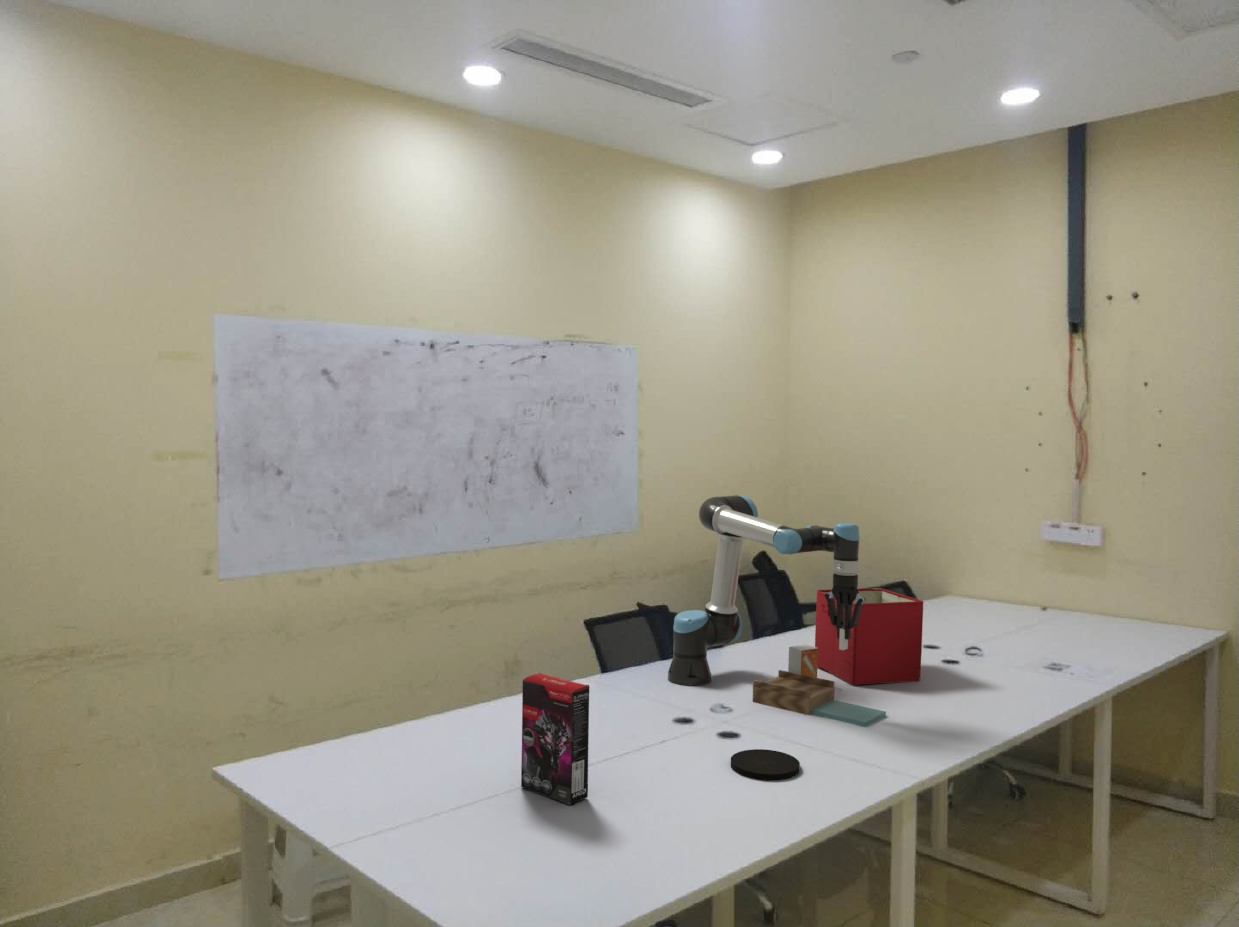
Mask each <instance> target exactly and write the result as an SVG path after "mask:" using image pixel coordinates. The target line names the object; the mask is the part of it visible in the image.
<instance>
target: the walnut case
mask: <svg viewBox="0 0 1239 927" xmlns="http://www.w3.org/2000/svg"><path fill="white" fill-rule="evenodd" d="M777 673H778V675H777V676H776V677H774V678H770V679H768V680H765V681H763V680H757V679H753V680H752V702H753V703H756V704H761V705H764V706H768V707H773V708H777V709H781V710H786V711H790V712H793V713H794V712H795V713H798V714H803V715H807V716H809V715H812V714H811V709H813V708H816V707H818V706H820V705H822V704H824V703H827V702H829V701H831V700H835V681H834V680H830V679H825V678H819V677H817V678H816V677H811V676H806V675H801V674H797V673H792V672H788V670H787V671H785V670H781V669H779V670H778V672H777Z"/></svg>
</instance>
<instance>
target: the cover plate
mask: <svg viewBox="0 0 1239 927" xmlns="http://www.w3.org/2000/svg"><path fill="white" fill-rule="evenodd" d="M810 715H814V716H818V717H821V718H822V717H823V718H827V719H829V720H830V719H831V720H835V721H839V722H843V723H847V724H851V725H855V726H859V727H863V728H866V727H868V726H870V725H872V724H874V723H876V722H878V721H879V720H881V719H883V718H885V717H886V715H887V711H884V710H881V709H878V708H877V709H876V708H872V707H867V706H862V705H859V704H854V703H851V702H845V701H841V700H836V699H834V700H831V701H829V702H827V703H824V704H822V705H820V706H818V707H816V708H813V709H811V714H810Z"/></svg>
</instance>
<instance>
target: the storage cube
mask: <svg viewBox="0 0 1239 927" xmlns="http://www.w3.org/2000/svg"><path fill="white" fill-rule="evenodd" d="M857 590H858V592H859V595H860V596H861V597H862V598H865V599H866V600H865V602H864V603H863V605H862V608H861V612H860V616H859V619H858V623H857V626H856V627H854V628H851V635H850V639H848V649H846V650H839V638H837V627H836V626H835V625H832V624H831V619H830V613H829V608H828V603H827V600H826V598H825V596H824V595H825V594H827V593H829V592H831V591H832V589H817V590H816V606H815V607H816V609H815V631H814V632H815V633H814V634H815V636H814V638H815V639H814V647H816V648H818V665H817V668H820V669H821V670H824V671H826V672H829V673H830V674H832V675H834V676H836V677H838V678H840V679H841V680H843V681H845V682H847V683H848V684H850V685H851V686H858V685H874V684H890V683H892V684H893V683H909V682H910V683H911V682H919V681H920V680H921V669H922V668H921V667H922V648H923V624H924V623H923V622H924V620H923V619H924V601H923V600H921V599H918V598H914V597H910V596H907V595H903V594H901V593H897V592H894V591H890V590H889V589H885V588H881V587H877V588H876V587H875V588H872V587H871V588H870V587H869V588H868V587H867V588H857ZM834 601H835V606H836V612H837V605H836V604H837V600H836V599H835V597H834ZM856 603H857V602H856V599H855V600H854V601H853V606H852V615H853V612H854V608H855V605H856ZM844 620H845V607H844ZM843 627H844V626H843Z"/></svg>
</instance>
